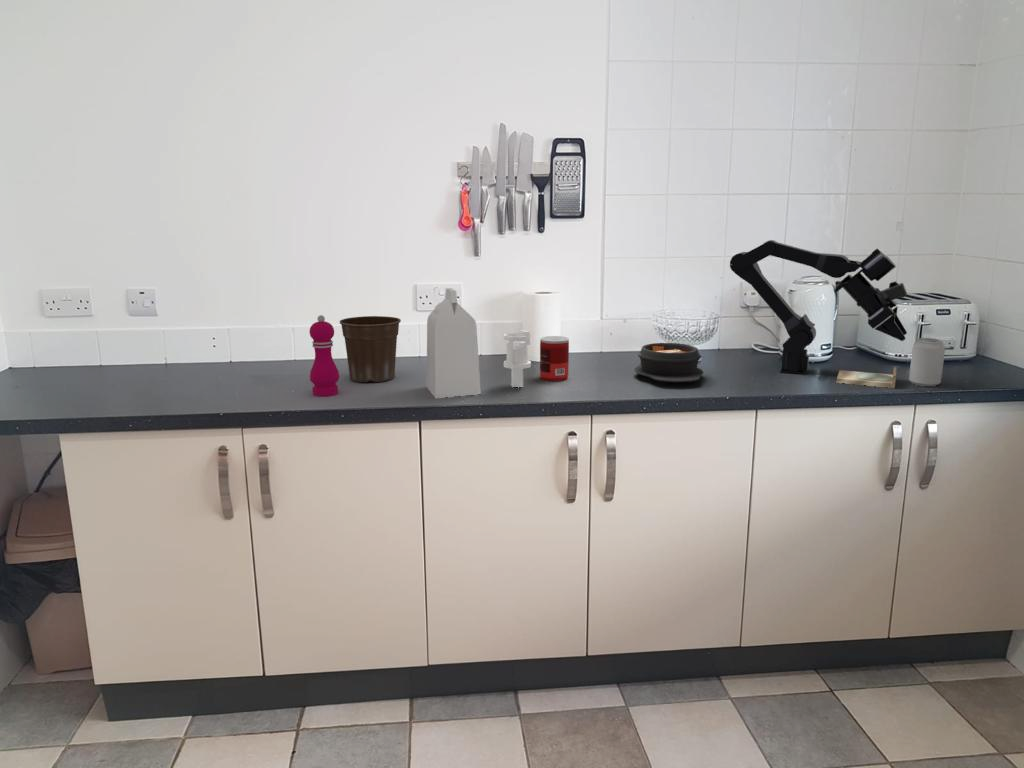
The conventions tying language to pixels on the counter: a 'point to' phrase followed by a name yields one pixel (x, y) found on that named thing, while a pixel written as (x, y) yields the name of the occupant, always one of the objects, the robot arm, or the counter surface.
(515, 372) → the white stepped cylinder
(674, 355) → the casserole
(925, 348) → the can
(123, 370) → the counter surface
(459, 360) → the milk
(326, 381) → the pepper mill
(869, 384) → the rack board
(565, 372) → the canned food
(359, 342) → the plant pot
